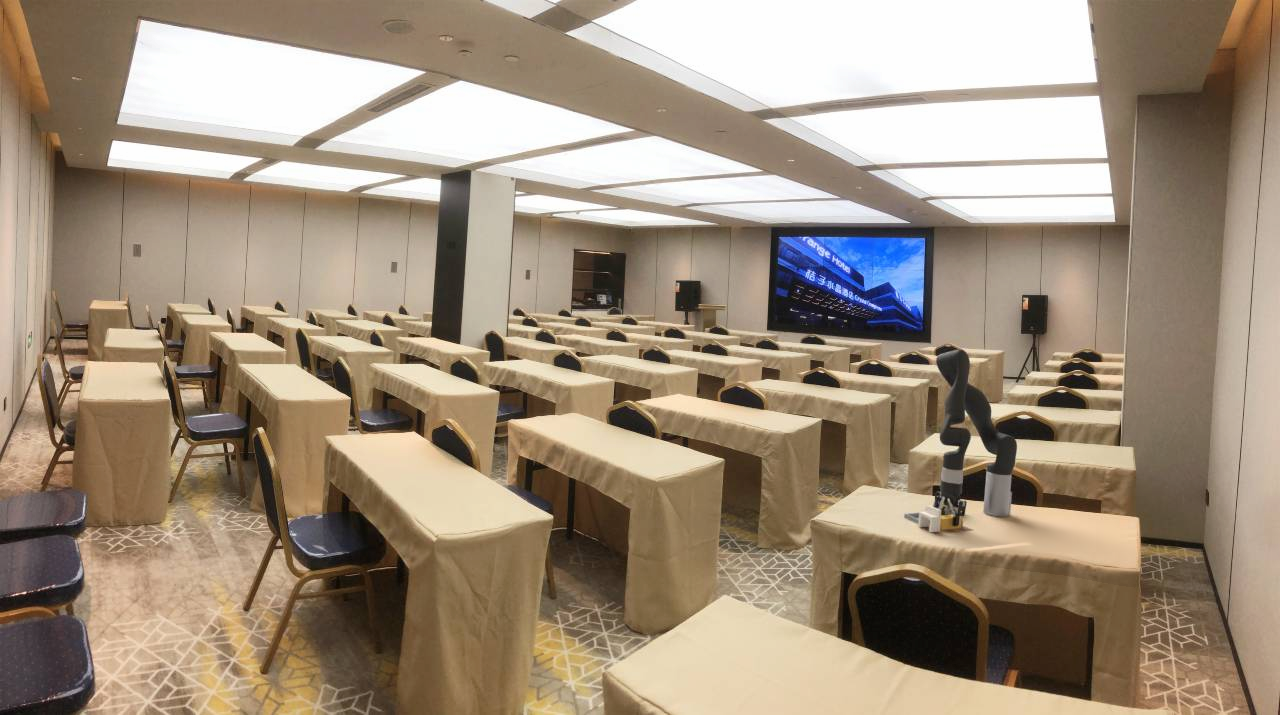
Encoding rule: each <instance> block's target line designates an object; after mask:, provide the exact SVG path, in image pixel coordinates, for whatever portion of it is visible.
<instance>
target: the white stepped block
mask: <svg viewBox="0 0 1280 715" xmlns="http://www.w3.org/2000/svg"><path fill="white" fill-rule="evenodd" d="M918 513H919V517H918V519H919V522H918V523H917V525H918V526H917V527H918V528H921V527H928V526H929V519H930V526H929V531H928V532H929V533H932V532H939V531H940V521H941V510H939V509H937V508H934V507H933V505H931V504H926V505H925V510H924V511H918Z"/></svg>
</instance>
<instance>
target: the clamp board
mask: <svg viewBox="0 0 1280 715" xmlns="http://www.w3.org/2000/svg"><path fill="white" fill-rule="evenodd" d="M963 524H964V520H962V525H961V528H957V529H947V530H941V529H940V531H939V532H931V534H934V535H942V534H950V533H961V532H971V531H973V529H972V528H970V527H968V526H965V525H963ZM929 526H930V524H929ZM929 526H928V527H920V528H921V529H923V530H925V531H928V532H929ZM916 527H918V524H917V525H916Z"/></svg>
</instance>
